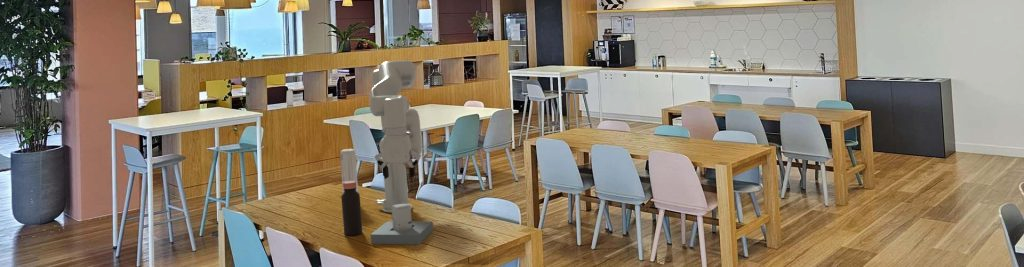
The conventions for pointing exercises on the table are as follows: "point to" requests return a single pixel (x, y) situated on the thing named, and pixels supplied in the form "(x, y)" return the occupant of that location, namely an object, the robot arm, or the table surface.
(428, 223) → the socket block
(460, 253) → the table surface
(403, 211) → the skincare box
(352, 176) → the air filter
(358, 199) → the bottle
